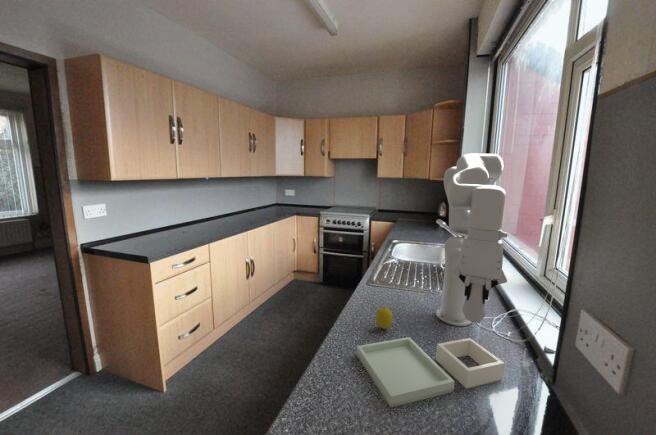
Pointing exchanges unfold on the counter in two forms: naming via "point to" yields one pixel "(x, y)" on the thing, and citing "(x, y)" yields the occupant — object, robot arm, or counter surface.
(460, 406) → the counter surface
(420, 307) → the counter surface
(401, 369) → the tray
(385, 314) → the lemon
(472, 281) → the salt shaker
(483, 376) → the square frame
